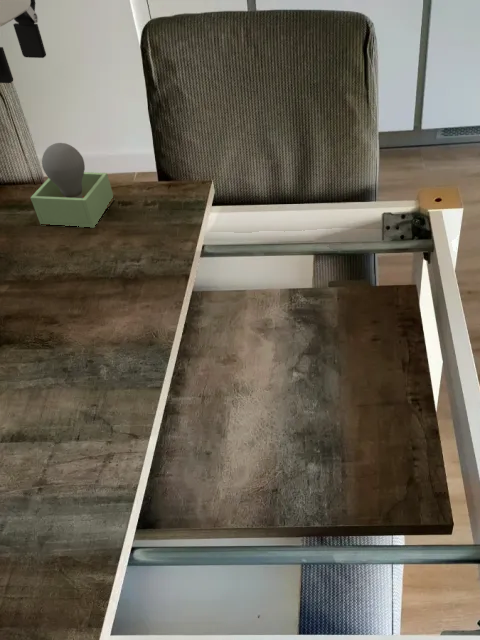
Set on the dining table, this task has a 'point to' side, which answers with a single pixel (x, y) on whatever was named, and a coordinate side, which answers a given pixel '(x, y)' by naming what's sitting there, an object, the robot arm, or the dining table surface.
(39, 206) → the box
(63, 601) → the dining table surface
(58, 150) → the light bulb
